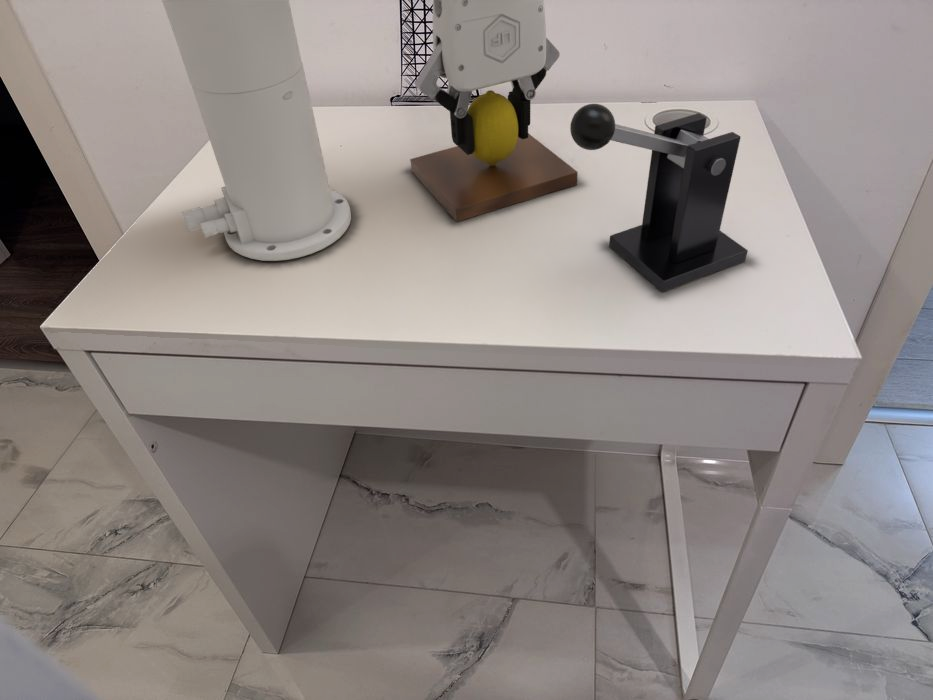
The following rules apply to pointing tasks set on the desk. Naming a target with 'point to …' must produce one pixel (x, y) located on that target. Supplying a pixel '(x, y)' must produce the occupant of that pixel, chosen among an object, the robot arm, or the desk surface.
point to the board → (492, 178)
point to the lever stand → (684, 211)
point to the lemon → (493, 127)
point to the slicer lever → (625, 134)
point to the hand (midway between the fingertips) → (491, 139)
